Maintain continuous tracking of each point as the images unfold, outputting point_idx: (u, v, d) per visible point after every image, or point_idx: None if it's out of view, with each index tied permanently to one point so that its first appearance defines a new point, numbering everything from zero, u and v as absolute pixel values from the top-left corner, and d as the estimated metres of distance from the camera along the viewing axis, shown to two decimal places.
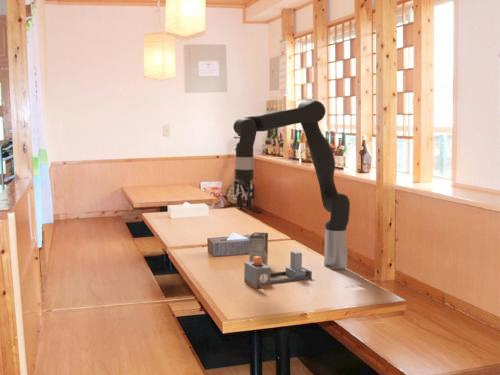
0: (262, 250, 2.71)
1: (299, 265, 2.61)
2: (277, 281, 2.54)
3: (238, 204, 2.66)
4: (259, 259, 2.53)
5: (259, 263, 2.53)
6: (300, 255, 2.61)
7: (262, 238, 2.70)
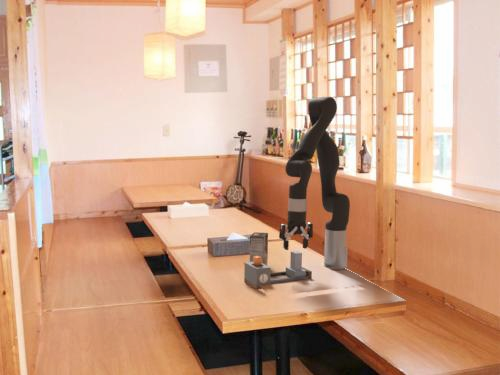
0: (262, 250, 2.71)
1: (299, 265, 2.61)
2: (277, 281, 2.54)
3: None
4: (259, 259, 2.53)
5: (259, 263, 2.53)
6: (300, 255, 2.61)
7: (262, 238, 2.70)
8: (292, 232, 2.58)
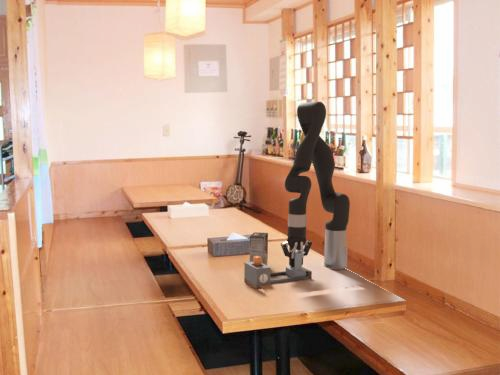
0: (262, 250, 2.71)
1: (299, 265, 2.61)
2: (277, 281, 2.54)
3: None
4: (259, 259, 2.53)
5: (259, 263, 2.53)
6: (300, 255, 2.61)
7: (262, 238, 2.70)
8: (294, 248, 2.59)
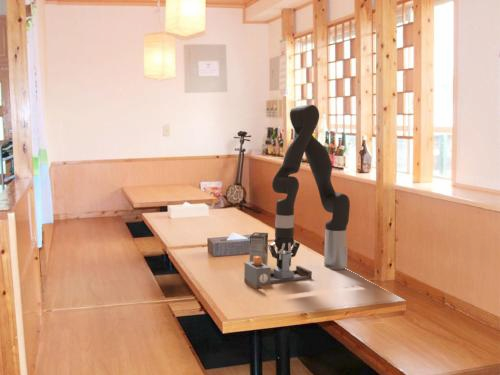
0: (262, 250, 2.71)
1: (287, 266, 2.59)
2: (277, 281, 2.54)
3: None
4: (259, 259, 2.53)
5: (259, 263, 2.53)
6: (288, 256, 2.58)
7: (262, 238, 2.70)
8: (282, 249, 2.57)
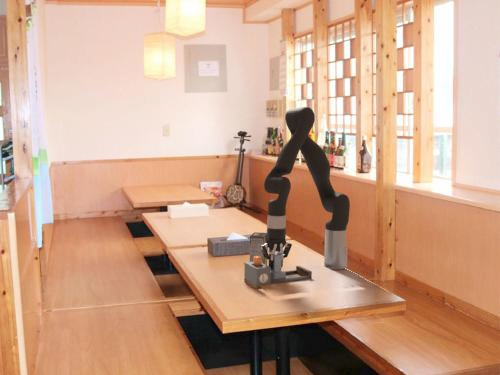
0: None
1: (279, 267, 2.57)
2: (277, 281, 2.54)
3: None
4: (259, 259, 2.53)
5: (259, 263, 2.53)
6: (280, 257, 2.57)
7: (262, 238, 2.70)
8: (274, 250, 2.55)
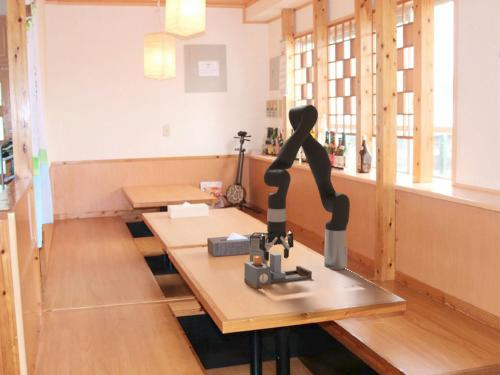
0: (262, 250, 2.71)
1: (278, 267, 2.57)
2: (277, 281, 2.54)
3: None
4: (259, 259, 2.53)
5: (259, 263, 2.53)
6: (279, 257, 2.57)
7: None
8: (272, 243, 2.54)
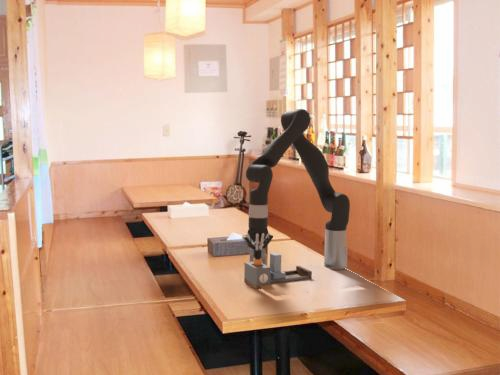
0: (262, 250, 2.71)
1: (278, 267, 2.57)
2: (277, 281, 2.54)
3: None
4: (259, 261, 2.53)
5: (259, 265, 2.54)
6: (279, 257, 2.57)
7: None
8: (257, 240, 2.52)
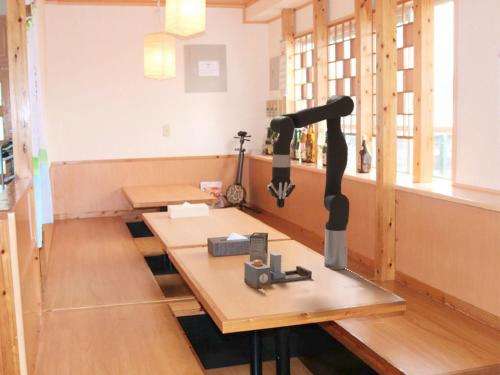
0: (262, 250, 2.71)
1: (278, 267, 2.57)
2: (277, 281, 2.54)
3: None
4: (259, 263, 2.53)
5: None
6: (279, 257, 2.57)
7: (262, 238, 2.70)
8: (280, 189, 2.62)
